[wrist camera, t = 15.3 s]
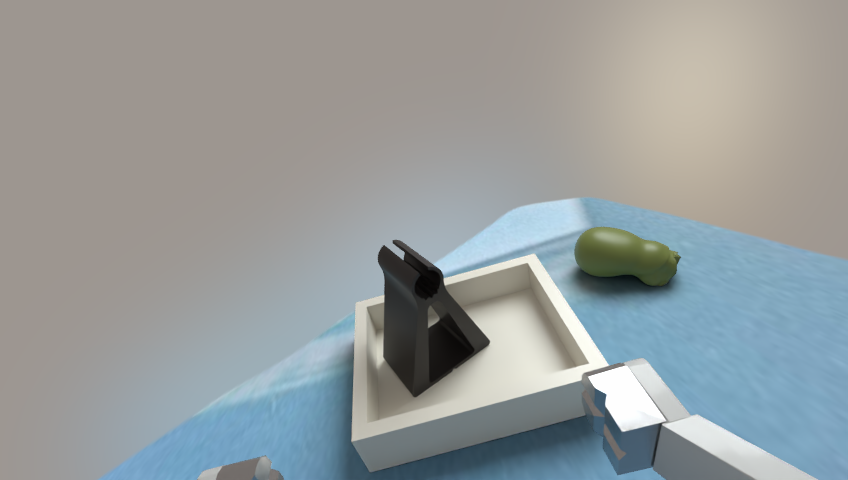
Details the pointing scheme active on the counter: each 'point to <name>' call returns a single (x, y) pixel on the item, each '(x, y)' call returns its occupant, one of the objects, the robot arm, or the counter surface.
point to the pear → (625, 256)
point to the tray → (475, 370)
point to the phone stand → (423, 322)
